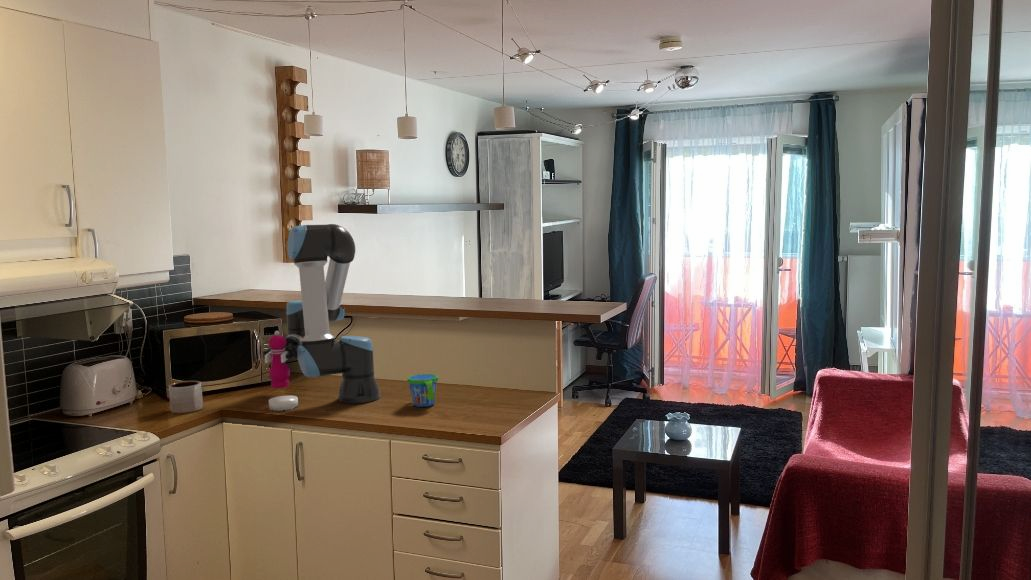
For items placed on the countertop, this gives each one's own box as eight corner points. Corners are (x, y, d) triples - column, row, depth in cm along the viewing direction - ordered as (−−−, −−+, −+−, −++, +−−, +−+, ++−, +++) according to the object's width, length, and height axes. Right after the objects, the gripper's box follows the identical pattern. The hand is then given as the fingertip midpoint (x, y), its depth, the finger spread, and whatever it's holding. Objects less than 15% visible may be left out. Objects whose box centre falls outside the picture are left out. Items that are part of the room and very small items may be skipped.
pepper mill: (287, 388, 274) (283, 332, 272) (266, 388, 274) (263, 333, 272) (293, 383, 281) (290, 328, 279) (273, 383, 282) (270, 329, 279)
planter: (163, 412, 276) (161, 386, 275) (187, 405, 286) (184, 379, 285) (187, 415, 272) (184, 388, 271) (210, 407, 282) (207, 381, 281)
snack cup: (404, 401, 280) (403, 374, 279) (433, 398, 283) (431, 370, 282) (414, 412, 265) (412, 382, 264) (444, 408, 269) (442, 379, 268)
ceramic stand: (304, 405, 280) (303, 396, 279) (284, 412, 271) (283, 403, 271) (283, 402, 284) (282, 394, 284) (263, 409, 276) (262, 401, 275)
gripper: (316, 354, 295) (300, 368, 272) (268, 355, 294) (248, 370, 271) (314, 335, 294) (299, 347, 271) (267, 336, 293) (247, 349, 270)
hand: (274, 359), depth 271 cm, fingers closed on pepper mill, 5 cm apart
